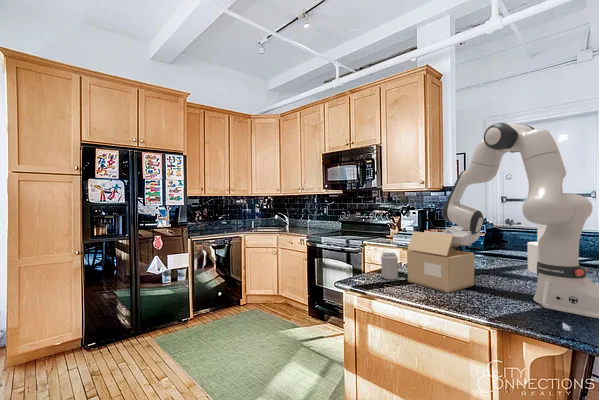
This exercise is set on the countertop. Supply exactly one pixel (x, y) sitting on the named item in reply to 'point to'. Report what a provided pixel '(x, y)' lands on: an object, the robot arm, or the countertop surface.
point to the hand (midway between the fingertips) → (434, 239)
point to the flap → (430, 243)
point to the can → (389, 266)
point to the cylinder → (534, 249)
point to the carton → (441, 270)
